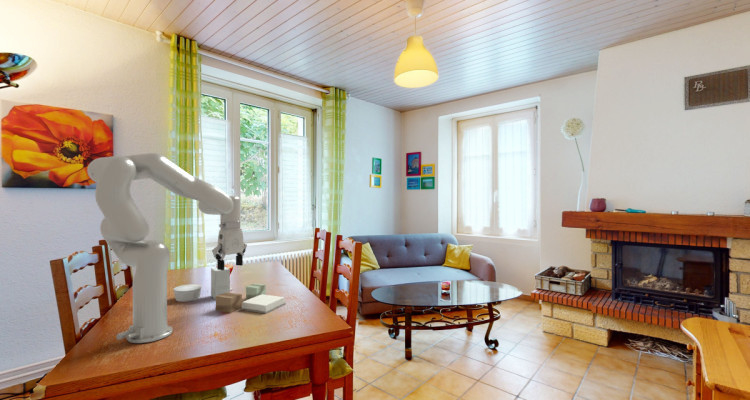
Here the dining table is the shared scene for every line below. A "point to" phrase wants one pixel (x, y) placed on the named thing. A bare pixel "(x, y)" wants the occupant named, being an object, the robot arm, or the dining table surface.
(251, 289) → the sage cube
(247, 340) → the dining table surface
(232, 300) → the walnut brick
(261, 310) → the plinth
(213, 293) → the small box
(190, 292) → the ramekin
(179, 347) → the dining table surface
